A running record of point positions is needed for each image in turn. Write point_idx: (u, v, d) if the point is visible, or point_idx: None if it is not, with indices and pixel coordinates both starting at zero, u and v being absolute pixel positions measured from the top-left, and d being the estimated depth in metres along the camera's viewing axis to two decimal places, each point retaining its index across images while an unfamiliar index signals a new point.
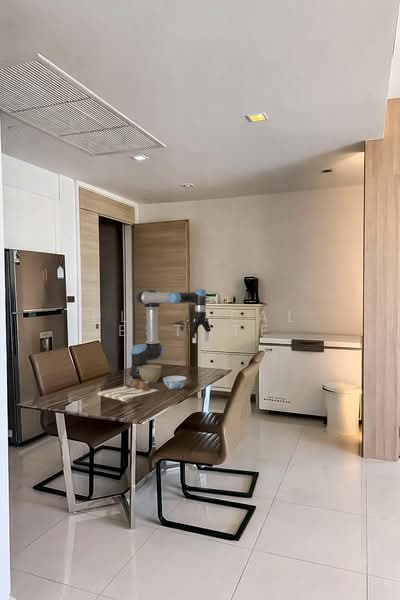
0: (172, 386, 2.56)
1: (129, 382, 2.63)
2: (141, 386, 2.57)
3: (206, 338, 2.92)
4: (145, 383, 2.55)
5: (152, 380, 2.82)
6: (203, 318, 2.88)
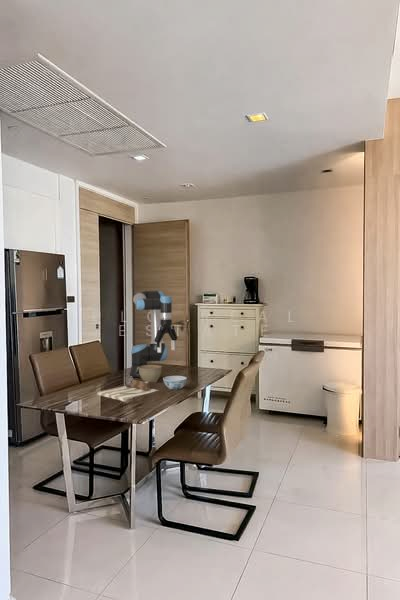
0: (172, 386, 2.56)
1: (129, 382, 2.63)
2: (141, 386, 2.57)
3: (172, 347, 2.77)
4: (145, 383, 2.55)
5: (152, 380, 2.82)
6: (169, 326, 2.72)
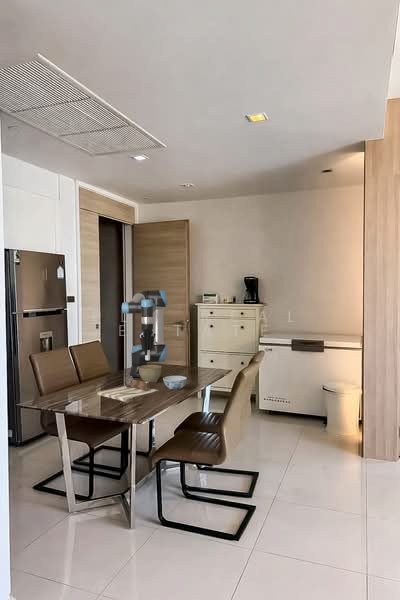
0: (172, 386, 2.56)
1: (129, 382, 2.63)
2: (141, 386, 2.57)
3: None
4: (145, 383, 2.55)
5: (152, 380, 2.82)
6: (150, 330, 2.65)
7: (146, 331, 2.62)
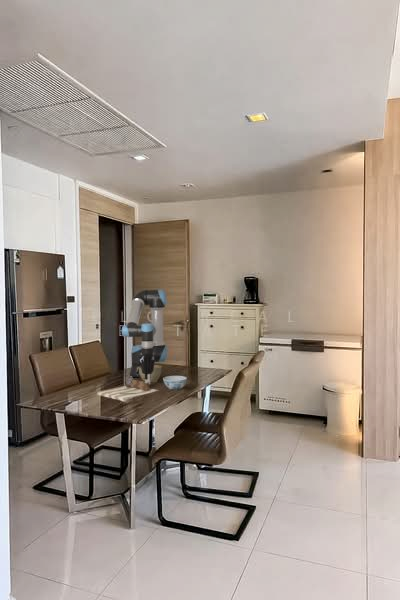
0: (172, 386, 2.56)
1: (129, 382, 2.63)
2: (141, 386, 2.57)
3: None
4: (145, 383, 2.55)
5: (152, 380, 2.82)
6: (150, 355, 2.65)
7: (146, 355, 2.62)
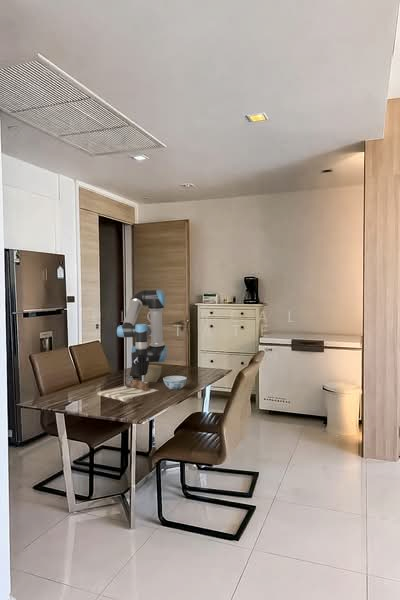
0: (172, 386, 2.56)
1: (129, 382, 2.63)
2: (140, 387, 2.57)
3: None
4: (144, 383, 2.54)
5: (152, 380, 2.82)
6: (145, 355, 2.61)
7: (140, 356, 2.58)
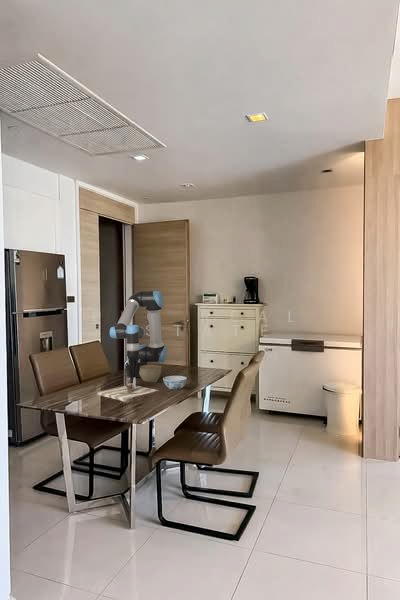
0: (172, 386, 2.56)
1: (127, 382, 2.64)
2: None
3: None
4: None
5: (152, 380, 2.82)
6: (136, 357, 2.55)
7: (132, 358, 2.52)
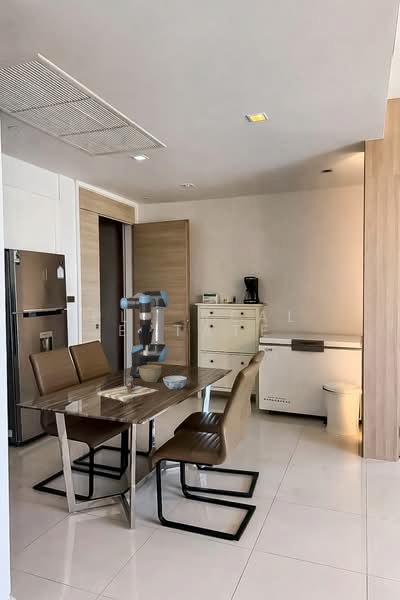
0: (172, 386, 2.56)
1: (127, 382, 2.64)
2: None
3: None
4: (127, 385, 2.50)
5: (152, 380, 2.82)
6: (148, 326, 2.67)
7: (144, 327, 2.64)
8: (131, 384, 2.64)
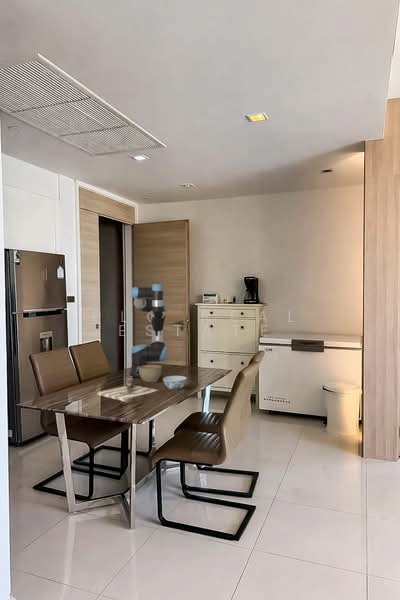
0: (172, 386, 2.56)
1: (127, 382, 2.64)
2: None
3: None
4: (127, 385, 2.50)
5: (152, 380, 2.82)
6: (160, 313, 2.85)
7: (157, 313, 2.82)
8: (131, 384, 2.64)
